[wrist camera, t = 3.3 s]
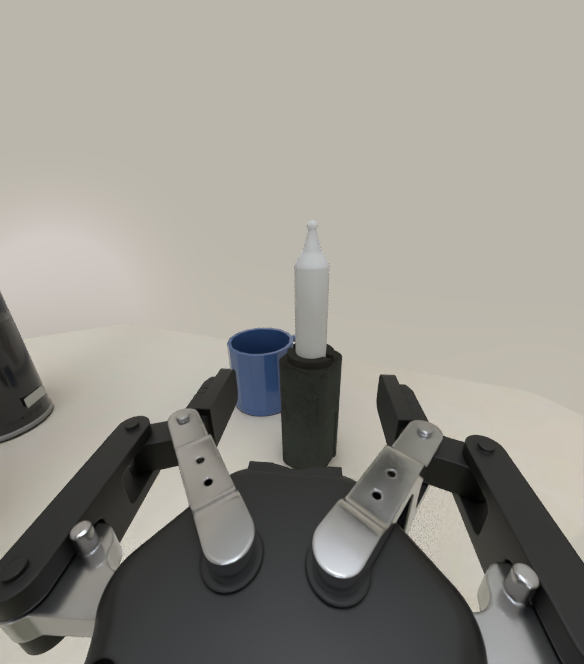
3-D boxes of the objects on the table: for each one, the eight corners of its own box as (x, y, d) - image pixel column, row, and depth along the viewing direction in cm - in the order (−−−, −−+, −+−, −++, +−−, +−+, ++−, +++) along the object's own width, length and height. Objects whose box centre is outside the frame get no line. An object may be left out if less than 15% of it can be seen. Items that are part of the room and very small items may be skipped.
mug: (259, 426, 36) (254, 363, 32) (223, 396, 42) (215, 340, 38) (321, 386, 44) (322, 332, 40) (283, 366, 50) (281, 317, 46)
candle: (302, 432, 35) (301, 219, 25) (339, 449, 32) (355, 219, 22) (278, 460, 31) (266, 221, 21) (318, 482, 28) (326, 221, 18)
